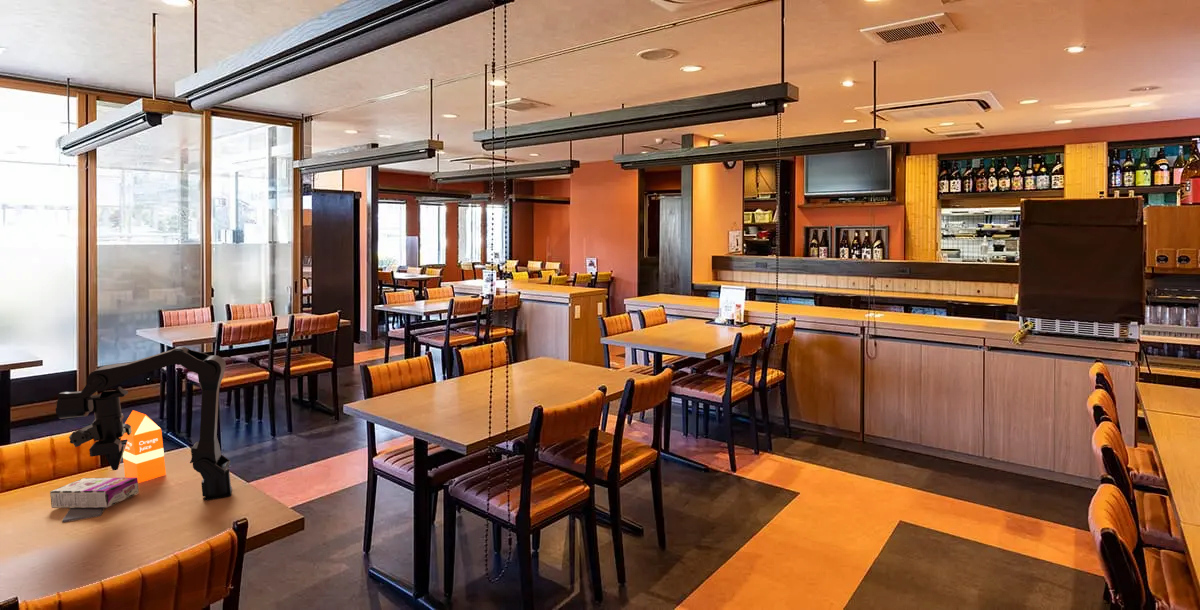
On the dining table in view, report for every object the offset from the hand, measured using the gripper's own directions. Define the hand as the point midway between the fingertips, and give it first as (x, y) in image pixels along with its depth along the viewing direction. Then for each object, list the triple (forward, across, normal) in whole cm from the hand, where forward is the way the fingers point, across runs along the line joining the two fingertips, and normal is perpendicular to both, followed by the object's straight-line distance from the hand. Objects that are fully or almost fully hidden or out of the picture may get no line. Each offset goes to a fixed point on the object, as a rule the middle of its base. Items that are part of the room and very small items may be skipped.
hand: (115, 469), depth 178 cm
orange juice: (+11, -23, +3) cm, 26 cm away
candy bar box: (+8, -2, +1) cm, 8 cm away
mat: (+11, 0, -8) cm, 13 cm away
